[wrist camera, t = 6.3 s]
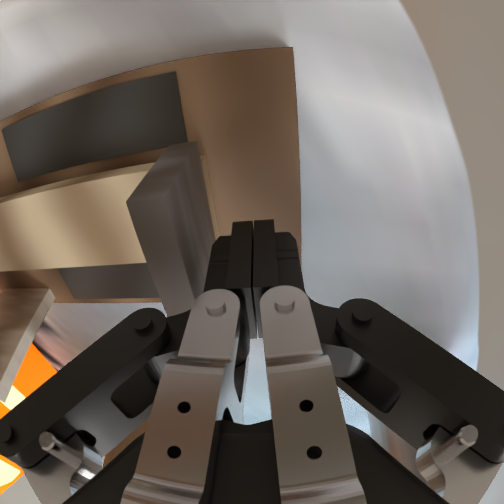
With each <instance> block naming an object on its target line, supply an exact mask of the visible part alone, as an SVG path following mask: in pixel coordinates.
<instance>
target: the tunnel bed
mask: <svg viewBox="0 0 504 504" xmlns="http://www.w3.org/2000/svg"><path fill="white" fill-rule="evenodd" d="M193 141H198V147H199V153H200V156H203V155H205V159H206V165H207V170H208V176H209V182H210V188H211V193H212V199H213V205H214V210H215V216H216V221H217V227H218V232H219V236H229V235H231V232H232V224H233V222H237V221H252V220H253V226H254V220H266V219H274V228H275V232H290V233H291V234H292V236H293V237H294V238H295V239H296V241H297V247H298V253H299V259H300V265H301V192H300V159H299V135H298V115H297V98H296V82H295V68H294V55H293V47H283V48H265V49H252V50H241V51H232V52H224V53H216V54H209V55H203V56H197V57H191V58H185V59H180V60H175V61H170V62H165V63H161V64H156V65H152V66H148V67H144V68H140V69H136V70H132V71H128V72H125V73H121V74H118V75H114V76H111V77H108V78H104V79H101V80H98V81H95V82H92V83H89V84H86V85H83V86H80V87H78V88H75V89H72V90H70V91H67V92H64V93H62V94H59V95H57V96H54V97H52V98H49V99H47V100H45V101H42V102H40V103H38V104H35V105H33V106H31V107H29V108H27V109H24V110H22V111H20V112H18V113H16V114H14V115H12V116H10V117H8V118H6V119H4V120H2V121H0V198H1V197H5V196H8V195H11V194H15V193H18V192H22V191H25V190H29V189H32V188H36V187H40V186H44V185H47V184H51V183H55V182H59V181H63V180H68V179H72V178H76V177H81V176H85V175H90V174H94V173H99V172H104V171H109V170H114V169H119V168H125V167H130V166H136V165H141V164H147V163H154V162H156V161H157V160H158V158H159V157H160V156H161V155H162V153H163V152H164V151H165V150H166V149H167V147H168V146H169V145H172V144H179V143H186V142H193ZM149 302H162V301H161V299H160V296H159V294H158V291H157V289H156V286H155V284H154V281H153V278H152V276H151V273H150V271H149V268H148V265H147V263H133V264H117V265H101V266H85V267H69V268H52V269H36V270H19V271H2V272H0V401H1V402H4V403H5V402H6V399H7V397H8V394H9V392H10V389H11V387H12V385H13V382H14V380H15V378H16V375H17V373H18V371H19V369H20V366H21V364H22V362H23V360H24V358H25V355H26V353H27V351H28V349H29V347H30V345H31V343H32V341H33V339H34V337H35V335H36V333H37V331H38V329H39V327H40V325H41V323H42V322H43V320H44V318H45V316H46V314H47V312H48V310H49V309H50V307H51V305H52V303H149Z"/></svg>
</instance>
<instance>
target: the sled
mask: <svg viewBox="0 0 504 504" xmlns="http://www.w3.org/2000/svg"><path fill="white" fill-rule="evenodd" d="M218 237H219V232H218V227H217V221H216V216H215V210H214V205H213V199H212V193H211V188H210V182H209V176H208V170H207V165H206V159H205V155H203V156H200V153H199V147H198V141H193V142H186V143H179V144H172V145H169V146H168V147H167V149H166V150H165V151H164V152H163V153H162V155H161V156H160V157H159V158H158V160H157V161H156V162H154V163H147V164H141V165H136V166H130V167H125V168H119V169H114V170H109V171H104V172H99V173H94V174H90V175H85V176H81V177H76V178H72V179H68V180H63V181H59V182H55V183H51V184H47V185H44V186H40V187H36V188H32V189H29V190H25V191H22V192H18V193H15V194H11V195H8V196H5V197H1V198H0V272H2V271H19V270H36V269H52V268H69V267H85V266H101V265H117V264H133V263H147V265H148V268H149V271H150V273H151V276H152V278H153V281H154V284H155V286H156V289H157V291H158V294H159V296H160V299H161V301H162V304H163V306H164V309H165V311H166V313H167V316H168V317H170V316H173V315H177V314H180V313H183V312H186V311H188V310H190V309H191V308H192V305H193V303H194V301H195V299H196V298H197V297H198V296H200V295H201V294H203V291H204V286H205V280H206V275H207V270H208V264H209V259H210V256H211V255H210V254H211V249H212V245H213V243H214V242H215V241H216V240H217V239H218Z"/></svg>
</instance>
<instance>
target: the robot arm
mask: <svg viewBox="0 0 504 504" xmlns="http://www.w3.org/2000/svg"><path fill="white" fill-rule="evenodd" d="M210 255H211V256H210V259H209V264H208V270H207V275H206V280H205V286H204V291H203V294H201V295H200V296H198V297H197V298H196V299H195V301H194V303H193V305H192V308H191V309H190V310H188V311H186V312H183V313H180V314H177V315H173V316H170V317H165V315H164V314H163V313H162V312H161V311H160V310H158V309H155V308H143V309H140V310H137V311H135V312H133V313H132V314H130V315H129V316H128V317H127V318H125V319H124V320H123V321H121V322H120V323H119V324H118V325H116V326H115V327H114V328H112V329H111V330H110V331H109V332H107V333H106V334H105V335H103V336H102V337H101V338H100V339H98V340H97V341H96V342H94V343H93V344H92V345H91V346H89V347H88V348H87V349H86V350H84V351H83V352H82V353H81V354H79V355H78V356H77V357H76V358H74V359H73V360H72V361H71V362H69V363H68V364H67V365H66V366H64V367H63V368H62V369H61V370H59V371H58V372H57V373H56V374H54V375H53V376H52V377H51V378H49V379H48V380H47V381H46V382H44V383H43V384H42V385H41V386H40V387H38V388H37V389H36V390H35V391H33V392H32V393H31V394H30V395H29V396H27V397H26V398H25V399H24V400H22V401H21V402H20V403H19V404H18V405H16V406H15V407H14V408H13V409H12V410H10V411H9V412H8V413H7V414H6V415H4V416H3V417H2V418H1V419H0V455H2V456H3V457H5V458H7V459H8V460H10V461H12V462H14V463H15V464H17V465H18V466H19V467H20V468H21V469H22V470H23V472H24V474H25V476H26V477H27V479H28V481H29V483H30V485H31V487H32V488H33V490H34V492H35V494H36V495H37V497H38V499H39V500H40V502H41V504H478V503H479V501H480V500H481V498H482V497H483V495H484V494H485V492H486V490H487V489H488V487H489V486H490V484H491V482H492V480H493V479H494V477H495V475H496V474H497V472H498V470H499V468H500V467H501V465H502V463H503V462H504V391H503V390H501V389H500V388H499V387H497V386H496V385H494V384H493V383H492V382H490V381H489V380H487V379H486V378H485V377H483V376H482V375H480V374H479V373H478V372H476V371H475V370H473V369H472V368H471V367H469V366H468V365H466V364H465V363H463V362H462V361H461V360H459V359H458V358H456V357H455V356H453V355H452V354H450V353H449V352H448V351H446V350H445V349H443V348H442V347H440V346H439V345H437V344H436V343H434V342H433V341H432V340H430V339H429V338H427V337H426V336H424V335H423V334H421V333H420V332H418V331H417V330H415V329H414V328H412V327H411V326H409V325H408V324H407V323H405V322H404V321H402V320H401V319H399V318H398V317H396V316H395V315H393V314H392V313H390V312H389V311H387V310H386V309H384V308H383V307H381V306H380V305H378V304H377V303H375V302H373V301H371V300H367V299H352V300H349V301H346V302H345V303H343V304H342V305H341V306H340V308H334V307H328V306H324V305H321V304H318V303H316V302H314V301H313V300H312V299H310V298H309V297H308V295H307V294H306V292H305V289H304V283H303V277H302V271H301V265H300V259H299V253H298V247H297V241H296V239H295V238H294V237H293V236H292V234H291V233H290V232H275V228H274V219H266V220H254V226H253V220H252V221H237V222H233V224H232V232H231V235H229V236H219V237H218V239H217V240H216V241H215V242H214V243H213V245H212V249H211V254H210ZM257 327H258V335H259V338H263V342H264V352H265V362H266V372H267V381H268V390H269V400H270V409H271V420H267V421H264V422H260V423H256V424H252V425H244V416H243V407H244V398H245V389H246V381H247V372H248V364H249V349H250V339H253V338H257ZM337 386H338V387H339V388H341V389H342V390H343V391H344V392H345V393H347V394H348V395H349V396H350V397H351V398H353V399H354V400H355V401H356V402H357V403H359V404H360V405H361V406H362V407H364V408H365V409H366V410H367V413H368V418H369V424H370V430H371V436H372V438H371V437H370V436H369V435H367V434H366V433H364V432H363V431H361V430H359V429H357V428H355V427H353V426H351V425H348V424H346V422H345V418H344V414H343V409H342V405H341V401H340V397H339V393H338V389H337ZM148 418H149V421H148V424H147V428H146V432H144V433H143V434H141V435H140V436H138V437H137V438H136V439H135V440H133V441H132V442H131V443H130V444H129V445H128V446H127V447H126V448H125V449H124V450H123V451H121V452H120V453H119V454H118V455H117V456H116V457H115V458H114V459H113V460H112V461H110V462H109V463H108V464H107V465H106V466H105V467H104V468H103V467H102V459H101V458H102V457H104V456H105V455H106V454H107V453H108V452H110V451H111V450H112V449H113V448H114V447H116V446H117V445H118V444H119V443H120V442H121V441H123V440H124V439H125V438H126V437H127V436H128V435H130V434H131V433H132V432H133V431H134V430H135V429H137V428H138V427H139V426H140V425H141V424H142V423H143V422H145V421H146V420H147V419H148Z"/></svg>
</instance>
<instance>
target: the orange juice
mask: <svg viewBox="0 0 504 504" xmlns="http://www.w3.org/2000/svg"><path fill="white" fill-rule="evenodd" d="M56 373H57V371H56V370H55V369H54V368H53V367H52V365H51V364H50V363H49V362H48V361H47V360H46V359H45V358H44V357H43V356H42V354H41V353H40V352H39V351H38V350H37V349H36V348H35V346H34V345H33V344H32V343H31V345H30V347H29V349H28V351H27V353H26V355H25V358H24V360H23V362H22V364H21V366H20V369H19V371H18V373H17V375H16V378H15V380H14V382H13V385H12V387H11V389H10V392H9V394H8V397H7V399H6V402H5V403H4V402H1V401H0V419H1V418H2V417H3V416H4V415H6V414H7V413H8V412H9V411H10V410H12V409H13V408H14V407H15V406H16V405H18V404H19V403H20V402H21V401H22V400H24V399H25V398H26V397H27V396H29V395H30V394H31V393H32V392H33V391H35V390H36V389H37V388H38V387H40V386H41V385H42V384H43V383H44V382H46V381H47V380H48V379H49V378H51V377H52V376H53V375H54V374H56ZM23 474H24V472H23V470H22V469H21V468H20V467H19V466H18V465H17V464H15V463H14V462H12V461H10V460H8V459H7V458H5V457H3V456H2V455H0V495H1V494H2V493H3V491H5V490H6V489H7V488H8V487H10V485H12V484H13V483H14V482H15V481H16V480H17V479H19V478H20V477H21V476H22V475H23Z"/></svg>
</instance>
